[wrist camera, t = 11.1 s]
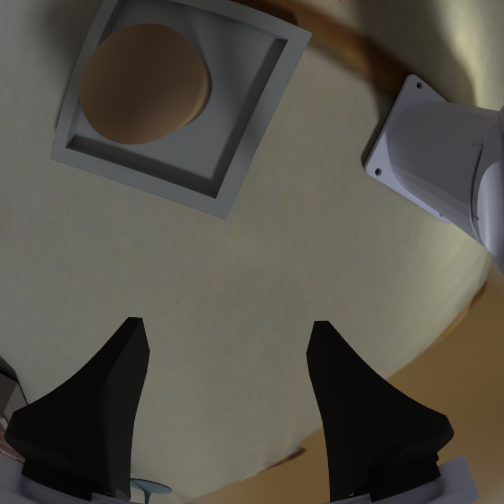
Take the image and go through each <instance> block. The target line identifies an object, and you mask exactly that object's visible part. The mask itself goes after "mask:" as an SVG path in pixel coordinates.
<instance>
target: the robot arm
mask: <svg viewBox="0 0 504 504" xmlns="http://www.w3.org/2000/svg"><path fill="white" fill-rule="evenodd" d="M417 83H419V85H420V88H419V89H418V88H417ZM377 168H379V173H378V174H375V170H376V169H377ZM364 171H365V172H366V173H367V174H368V175H370V176H372V177H373V178H375V179H377V180H378V181H380V182H382V183H384V184H385V185H387V186H389V187H390V188H392V189H394V190H395V191H397V192H398V193H400V194H402V195H403V196H405V197H406V198H408V199H410V200H411V201H413V202H414V203H416V204H417V205H419V206H420V207H422V208H423V209H425V210H426V211H428V212H429V213H431V214H432V215H434V216H435V217H437V218H438V219H440V220H441V221H443V222H444V223H445V224H449V223H451V222H452V223H453V224H455V225H456V226H458V227H459V228H460V229H462V230H463V231H464V232H465V233H467V234H468V235H469V236H471V237H472V238H473V239H474V240H476V241H477V242H478V243H479V244H481V245H482V246H483V247H485V248H486V249H487V250H488V251H489V252H490V254H491V257H492V264H493V265H494V266H496V267H497V268H498V269H499V270H500V271H501V272H502V273H503V274H504V106H503V107H502V108H501V109H500V111H495V110H490V109H485V108H480V107H474V106H469V105H463V104H456V103H449V102H447V101H446V100H445V99H444V98H442V97H441V96H440V95H439V94H438V93H437V92H436V91H434V90H433V89H432V88H431V87H430V86H428V85H427V84H426V83H425V82H424V81H422V80H421V79H420V78H419V77H417V76H416V75H408V76H407V77H406V80H405V82H404V84H403V86H402V88H401V91H400V93H399V95H398V97H397V99H396V101H395V104H394V106H393V108H392V110H391V112H390V114H389V116H388V118H387V120H386V123H385V125H384V127H383V129H382V131H381V133H380V135H379V137H378V139H377V141H376V143H375V145H374V147H373V149H372V151H371V153H370V155H369V157H368V159H367V161H366V163H365V165H364ZM439 214H440V215H439ZM149 354H150V350H149V345H148V341H147V337H146V333H145V328H144V324H143V319H142V318H137V317H128V318H127V319H126V320H125V322H124V323H123V324H122V325H121V326H120V327H119V329H118V330H117V331H116V332H115V333H114V334H113V336H112V337H111V338H110V339H109V340H108V341H107V342H106V343H105V345H104V346H103V347H102V348H101V349H100V350H99V351H98V352H97V353H96V354H95V355H94V356H93V357H92V358H91V359H90V360H89V361H88V362H87V363H86V364H85V365H84V366H83V367H82V368H81V369H80V370H79V371H78V372H77V373H76V374H74V375H73V376H72V377H71V378H70V379H68V380H67V381H66V382H64V383H63V384H61V385H60V386H59V387H57V388H56V389H55V390H53V391H52V392H50V393H48V394H47V395H45V396H44V397H42V398H40V399H38V400H37V401H35V402H33V403H31V404H29V405H27V406H25V407H22V408H20V409H18V410H16V411H14V412H13V414H12V416H11V418H10V421H9V423H8V426H7V428H6V431H5V433H4V439H5V440H6V442H7V443H8V444H9V445H10V446H11V447H12V448H13V449H14V450H15V451H16V452H18V453H19V454H20V455H21V456H22V457H23V458H25V462H24V464H22V463H20V462H19V461H17V460H15V459H13V458H11V457H9V456H7V455H5V454H3V453H1V452H0V504H141V503H136V502H131V501H129V500H130V499H131V493H130V465H131V448H132V437H133V428H134V421H135V416H136V411H137V407H138V403H139V400H140V396H141V392H142V388H143V385H144V381H145V377H146V373H147V368H148V361H149ZM306 356H307V363H308V370H309V375H310V379H311V382H312V386H313V390H314V393H315V396H316V400H317V403H318V407H319V410H320V414H321V418H322V422H323V428H324V434H325V441H326V449H327V457H328V468H329V482H330V483H329V484H330V502H329V503H323V504H471V503H472V502H474V501H476V500H477V499H479V497H480V496H479V493H478V490H477V488H476V485H475V482H474V480H473V477H472V475H471V472H470V470H469V467H468V465H467V462H466V460H465V458H464V456H463V455H461V456H459V457H457V458H455V459H452V460H450V461H448V462H446V463H444V464H442V465H440V466H437V464H436V461H438V460H439V457H438V455H437V452H438V451H439V450H440V449H442V448H443V447H444V446H445V445H446V444H447V443H448V442H449V441H450V440H451V439H452V437H453V436H454V431H453V429H452V426H451V424H450V422H449V420H448V418H447V417H446V415H443V414H441V413H439V412H437V411H434V410H432V409H430V408H428V407H426V406H424V405H422V404H420V403H418V402H416V401H415V400H413V399H411V398H409V397H408V396H406V395H405V394H403V393H402V392H401V391H399V390H398V389H396V388H395V387H393V386H392V385H391V384H389V383H388V382H387V381H386V380H384V379H383V378H382V377H381V376H380V375H378V374H377V373H376V372H375V371H374V370H373V369H372V368H371V367H370V366H369V365H368V364H366V363H365V362H364V361H363V360H362V359H361V357H360V356H359V355H358V354H357V353H356V352H355V351H354V350H353V349H352V348H351V347H350V346H349V344H348V343H347V342H346V341H345V340H344V339H343V337H342V336H341V335H340V334H339V333H338V332H337V330H336V329H335V328H334V327H333V326H332V324H331V323H330V322H329V321H314V325H313V329H312V333H311V337H310V341H309V345H308V349H307V353H306Z"/></svg>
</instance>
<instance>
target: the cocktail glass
mask: <svg viewBox="0 0 504 504" xmlns="http://www.w3.org/2000/svg"><path fill="white" fill-rule="evenodd" d="M130 486H131V487H134V488H136V489H139V490H142V491H144V494H145V504H148V503H149V498H150V495H151V493H170V492H172V490H171V489H170V488H169V487H167V486H165V485H162V484H159V483H155V482H151V481H146V480H140V479H130Z"/></svg>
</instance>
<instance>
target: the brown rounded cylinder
mask: <svg viewBox="0 0 504 504" xmlns="http://www.w3.org/2000/svg"><path fill="white" fill-rule="evenodd" d="M211 93H212V78H211V74H210V71H209V69H208V67H207V65H206V64H205V62H204V61H203V60H202V58H201V57H200V56H199V55H198V53H197V52H196V51H195V49H194V48H193V47H192V45H191V44H190V43H189V42H188V40H187V39H186V38H185V37H184V36H182V35H181V34H180V33H178V32H177V31H175V30H173V29H171V28H169V27H166V26H163V25H159V24H137V25H133V26H129V27H126V28H123V29H121V30H119V31H117V32H115V33H113V34H112V35H110V36H109V37H108V38H106V39H105V40H104V41H103V42H102V43H101V44H100V45H99V46H98V47H97V48H96V49H95V50H94V52H93V53H92V54H91V56H90V57H89V59H88V61H87V63H86V65H85V67H84V70H83V73H82V76H81V81H80V90H79V94H80V103H81V107H82V110H83V113H84V115H85V117H86V119H87V121H88V122H89V124H90V125H91V126H92V128H93V129H94V130H95V131H96V132H98V133H99V134H100V135H101V136H103V137H105V138H106V139H108V140H111V141H113V142H116V143H120V144H127V145H138V144H145V143H148V142H152V141H155V140H157V139H159V138H162V137H163V136H165V135H167V134H169V133H171V132H173V131H175V130H177V129H179V128H181V127H183V126H185V125H187V124H189V123H191V122H192V121H194V120H195V119H196V118H197V117H198V116H199V115H200V114H201V113H202V112H203V111H204V109H205V108H206V106H207V104H208V102H209V100H210V97H211Z"/></svg>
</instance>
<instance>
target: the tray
mask: <svg viewBox="0 0 504 504" xmlns="http://www.w3.org/2000/svg"><path fill="white" fill-rule="evenodd" d="M137 24H159V25H163V26H166V27H169V28H171V29H173V30H175V31H177V32H178V33H180V34H181V35H182V36H184V37H185V38H186V39H187V40H188V42H189V43H190V44H191V45H192V47H193V48H194V49H195V51H196V52H197V53H198V55H199V56H200V57H201V58H202V60H203V61H204V62H205V64H206V65H207V67H208V69H209V71H210V74H211V78H212V93H211V97H210V100H209V102H208V104H207V106H206V108H205V109H204V111H203V112H202V113H201V114H200V115H199V116H198V117H197V118H196V119H195V120H194V121H192V122H191V123H189V124H187V125H185V126H183V127H181V128H179V129H177V130H175V131H173V132H171V133H169V134H167V135H165V136H163V137H162V138H159V139H157V140H155V141H152V142H148V143H145V144H138V145H127V144H120V143H116V142H113V141H111V140H108V139H106V138H105V137H103V136H101V135H100V134H99V133H98V132H96V131H95V130H94V129H93V128H92V126H91V125H90V124H89V122H88V121H87V119H86V117H85V115H84V113H83V110H82V107H81V103H80V94H79V90H80V81H81V76H82V73H83V70H84V67H85V65H86V63H87V61H88V59H89V57H90V56H91V54H92V53H93V52H94V50H95V49H96V48H97V47H98V46H99V45H100V44H101V43H102V42H103V41H104V40H105V39H106V38H108V37H109V36H110V35H112V34H113V33H115V32H117V31H119V30H121V29H123V28H126V27H129V26H133V25H137ZM311 36H312V33H310V32H308V31H306V30H304V29H302V28H299V27H297V26H295V25H293V24H291V23H288V22H286V21H284V20H281V19H279V18H276V17H274V16H272V15H269V14H267V13H264V12H261V11H259V10H256V9H253V8H250V7H248V6H245V5H242V4H239V3H236V2H233V1H230V0H103V2H102V4H101V6H100V8H99V10H98V12H97V14H96V16H95V18H94V20H93V23H92V25H91V27H90V29H89V32H88V34H87V36H86V39H85V41H84V43H83V46H82V48H81V51H80V54H79V56H78V59H77V62H76V64H75V67H74V70H73V73H72V76H71V79H70V82H69V85H68V88H67V91H66V95H65V98H64V101H63V105H62V109H61V112H60V116H59V120H58V124H57V128H56V133H55V137H54V142H53V147H52V152H51V157H50V159H52V160H55V161H58V162H61V163H64V164H67V165H70V166H73V167H76V168H79V169H82V170H85V171H88V172H91V173H94V174H97V175H100V176H103V177H106V178H108V179H111V180H114V181H117V182H120V183H123V184H126V185H129V186H132V187H135V188H137V189H140V190H143V191H146V192H149V193H152V194H155V195H157V196H160V197H163V198H166V199H169V200H172V201H174V202H177V203H180V204H183V205H186V206H188V207H191V208H194V209H197V210H199V211H202V212H205V213H208V214H211V215H213V216H216V217H219V218H221V219H224V220H226V218H227V216H228V213H229V211H230V209H231V207H232V204H233V202H234V200H235V197H236V195H237V193H238V190H239V188H240V186H241V184H242V181H243V179H244V177H245V175H246V172H247V170H248V168H249V166H250V163H251V161H252V159H253V157H254V154H255V152H256V150H257V148H258V146H259V143H260V141H261V139H262V137H263V135H264V133H265V130H266V128H267V126H268V124H269V122H270V120H271V118H272V115H273V113H274V111H275V109H276V107H277V105H278V103H279V101H280V98H281V96H282V94H283V92H284V90H285V88H286V86H287V84H288V82H289V80H290V78H291V76H292V74H293V72H294V70H295V68H296V66H297V64H298V62H299V60H300V58H301V56H302V54H303V52H304V50H305V48H306V46H307V44H308V42H309V40H310V38H311Z"/></svg>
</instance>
